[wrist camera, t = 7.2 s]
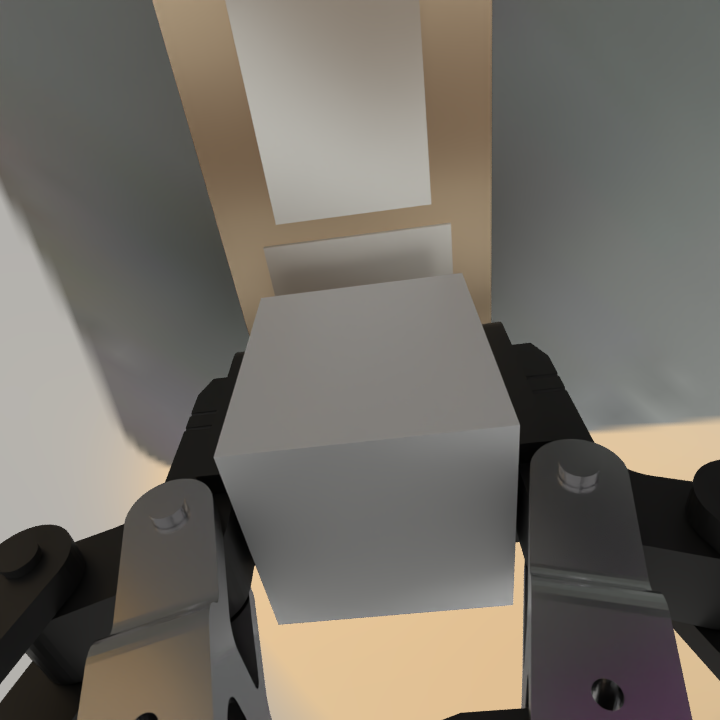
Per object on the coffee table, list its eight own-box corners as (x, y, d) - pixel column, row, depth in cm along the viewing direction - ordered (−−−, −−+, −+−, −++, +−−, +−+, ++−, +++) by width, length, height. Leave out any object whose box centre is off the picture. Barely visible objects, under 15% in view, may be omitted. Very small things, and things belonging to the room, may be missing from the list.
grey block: (260, 297, 11) (213, 457, 7) (462, 272, 11) (519, 425, 7) (300, 444, 13) (278, 624, 9) (467, 427, 13) (512, 604, 9)
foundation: (108, -339, 10) (17, -457, 7) (455, -410, 9) (495, -565, 7) (279, 340, 17) (267, 401, 15) (470, 317, 17) (491, 376, 14)
